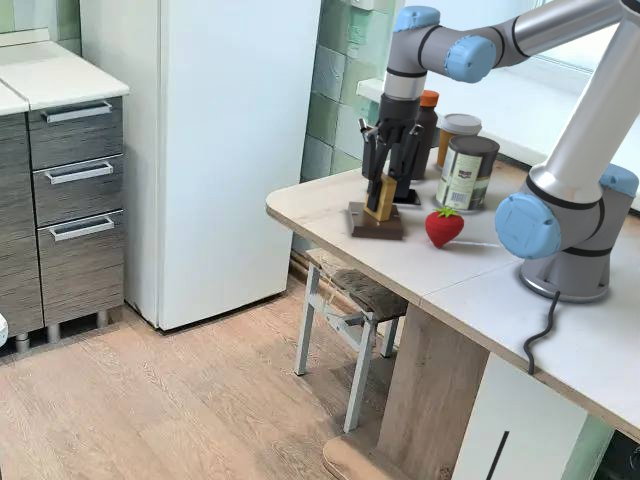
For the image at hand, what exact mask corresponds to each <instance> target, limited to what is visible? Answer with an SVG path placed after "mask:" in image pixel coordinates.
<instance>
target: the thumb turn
mask: <svg viewBox="0 0 640 480" xmlns="http://www.w3.org/2000/svg"><path fill="white" fill-rule="evenodd" d="M380 181H382V182H383V184H382V189H381V193H380V198H379V203H378V207H377V212H373V211H371V210H370V209H368V208H367V207H366V205H367V201H368V196H369V195H368V194H367V193H366V198H365V200H364V202H365V205H364V210H365V211H366V212H368V213H369V214H370V215H372V216H373V217H374V218H376V219H377V220H378V221H385V220H389V216H390V211H391V207H392V204H393V203H392V202H393V198H394V193H395V189H396V184H397V181H395V180H394V179H392V178H391V177H389V176H388V175H387V173H385V172H384V171H383V172H382V175H381V178H380Z"/></svg>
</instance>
